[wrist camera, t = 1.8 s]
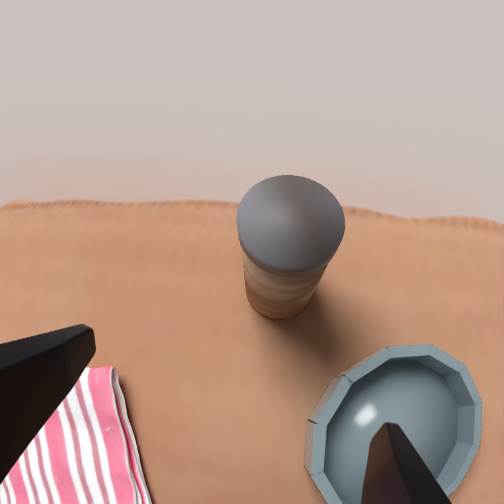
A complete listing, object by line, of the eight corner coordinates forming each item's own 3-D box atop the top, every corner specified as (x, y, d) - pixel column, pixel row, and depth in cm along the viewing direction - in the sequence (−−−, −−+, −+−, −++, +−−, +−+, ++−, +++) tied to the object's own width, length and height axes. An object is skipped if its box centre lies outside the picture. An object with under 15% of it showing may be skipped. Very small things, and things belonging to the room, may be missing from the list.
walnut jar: (264, 332, 23) (269, 286, 14) (232, 272, 25) (219, 197, 16) (325, 300, 24) (365, 238, 15) (292, 245, 26) (308, 163, 17)
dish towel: (175, 552, 15) (164, 570, 12) (-13, 514, 13) (-32, 518, 10) (126, 363, 22) (107, 357, 19) (-41, 374, 20) (-62, 368, 17)
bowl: (350, 540, 15) (361, 555, 12) (272, 410, 20) (275, 412, 17) (479, 443, 17) (500, 444, 14) (417, 321, 23) (435, 310, 20)
